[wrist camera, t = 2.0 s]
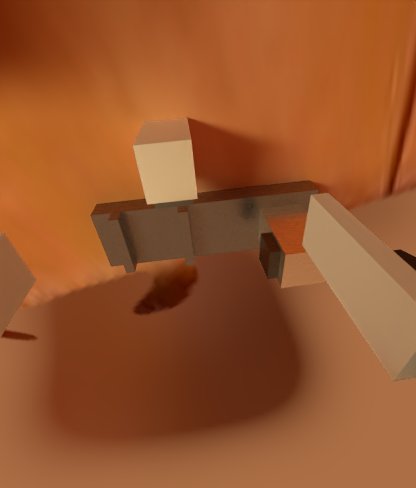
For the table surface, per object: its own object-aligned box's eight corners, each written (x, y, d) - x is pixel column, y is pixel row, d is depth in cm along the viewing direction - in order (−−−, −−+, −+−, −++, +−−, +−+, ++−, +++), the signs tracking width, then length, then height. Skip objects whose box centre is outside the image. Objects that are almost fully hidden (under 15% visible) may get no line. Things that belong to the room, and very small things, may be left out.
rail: (115, 253, 32) (93, 322, 24) (96, 204, 28) (62, 267, 20) (300, 231, 33) (342, 290, 25) (308, 180, 29) (363, 231, 20)
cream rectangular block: (144, 121, 24) (132, 145, 17) (187, 117, 24) (191, 139, 17) (156, 177, 27) (149, 215, 21) (193, 173, 27) (198, 209, 21)
